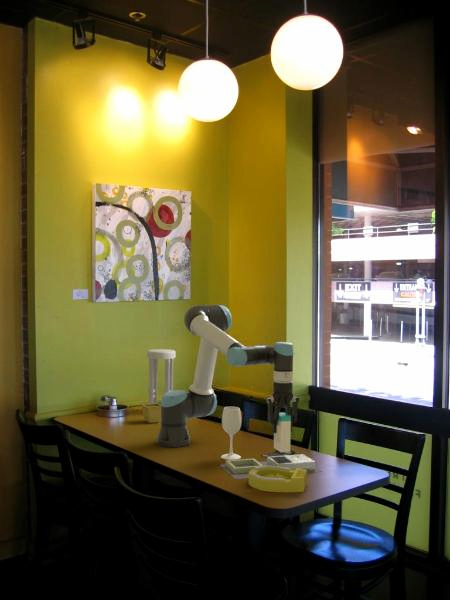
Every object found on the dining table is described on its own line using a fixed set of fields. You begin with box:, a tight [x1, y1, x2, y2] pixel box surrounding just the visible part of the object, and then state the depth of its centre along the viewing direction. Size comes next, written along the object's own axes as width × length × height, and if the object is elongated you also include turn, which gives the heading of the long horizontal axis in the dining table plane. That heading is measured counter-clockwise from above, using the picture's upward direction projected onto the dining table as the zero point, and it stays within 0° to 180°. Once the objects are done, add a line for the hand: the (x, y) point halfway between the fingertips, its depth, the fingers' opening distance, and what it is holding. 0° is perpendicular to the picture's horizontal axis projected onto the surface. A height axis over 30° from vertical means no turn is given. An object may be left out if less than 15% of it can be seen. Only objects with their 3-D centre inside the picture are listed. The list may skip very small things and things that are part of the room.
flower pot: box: [141, 402, 161, 424], centre depth 326 cm, size 9×9×9 cm
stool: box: [146, 348, 177, 404], centre depth 351 cm, size 16×16×35 cm
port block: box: [266, 453, 316, 471], centre depth 247 cm, size 16×11×4 cm
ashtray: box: [248, 465, 308, 493], centre depth 227 cm, size 16×21×5 cm
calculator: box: [260, 449, 296, 459], centre depth 264 cm, size 9×12×3 cm
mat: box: [219, 460, 323, 480], centre depth 246 cm, size 36×19×1 cm, turn 108°
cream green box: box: [273, 411, 292, 452], centre depth 246 cm, size 4×7×14 cm, turn 18°
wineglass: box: [220, 406, 242, 460], centre depth 262 cm, size 9×9×21 cm
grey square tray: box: [225, 458, 263, 474], centre depth 246 cm, size 12×11×2 cm
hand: (282, 440), depth 246 cm, fingers closed on cream green box, 4 cm apart
